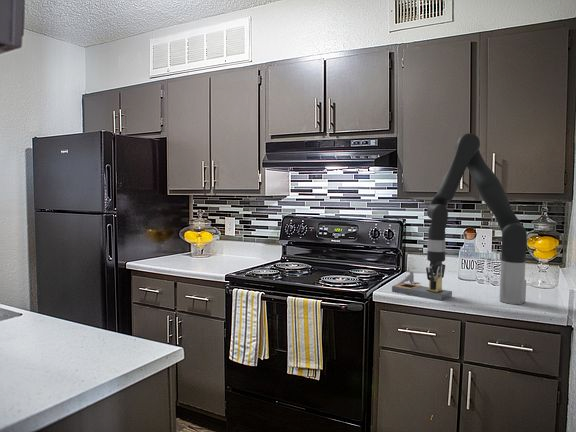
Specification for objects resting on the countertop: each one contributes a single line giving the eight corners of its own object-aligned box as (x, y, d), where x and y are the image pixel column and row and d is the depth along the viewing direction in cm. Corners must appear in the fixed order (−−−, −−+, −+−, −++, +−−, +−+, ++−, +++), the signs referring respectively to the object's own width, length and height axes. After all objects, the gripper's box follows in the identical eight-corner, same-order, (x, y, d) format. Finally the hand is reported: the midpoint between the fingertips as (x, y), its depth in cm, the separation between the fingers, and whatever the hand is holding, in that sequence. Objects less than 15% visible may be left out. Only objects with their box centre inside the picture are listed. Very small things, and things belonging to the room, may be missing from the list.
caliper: (411, 282, 236) (411, 270, 235) (413, 282, 235) (413, 270, 235) (391, 288, 220) (392, 275, 220) (394, 289, 220) (394, 276, 219)
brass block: (441, 294, 204) (442, 276, 204) (437, 296, 202) (437, 278, 201) (433, 293, 207) (433, 275, 207) (428, 294, 204) (429, 276, 204)
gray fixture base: (451, 296, 204) (452, 290, 204) (441, 300, 197) (441, 294, 197) (403, 288, 221) (403, 282, 221) (391, 291, 214) (392, 285, 214)
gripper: (436, 252, 195) (435, 292, 196) (451, 249, 206) (450, 287, 207) (420, 250, 201) (419, 290, 202) (435, 247, 211) (434, 285, 212)
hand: (435, 288), depth 204 cm, fingers closed on brass block, 4 cm apart
